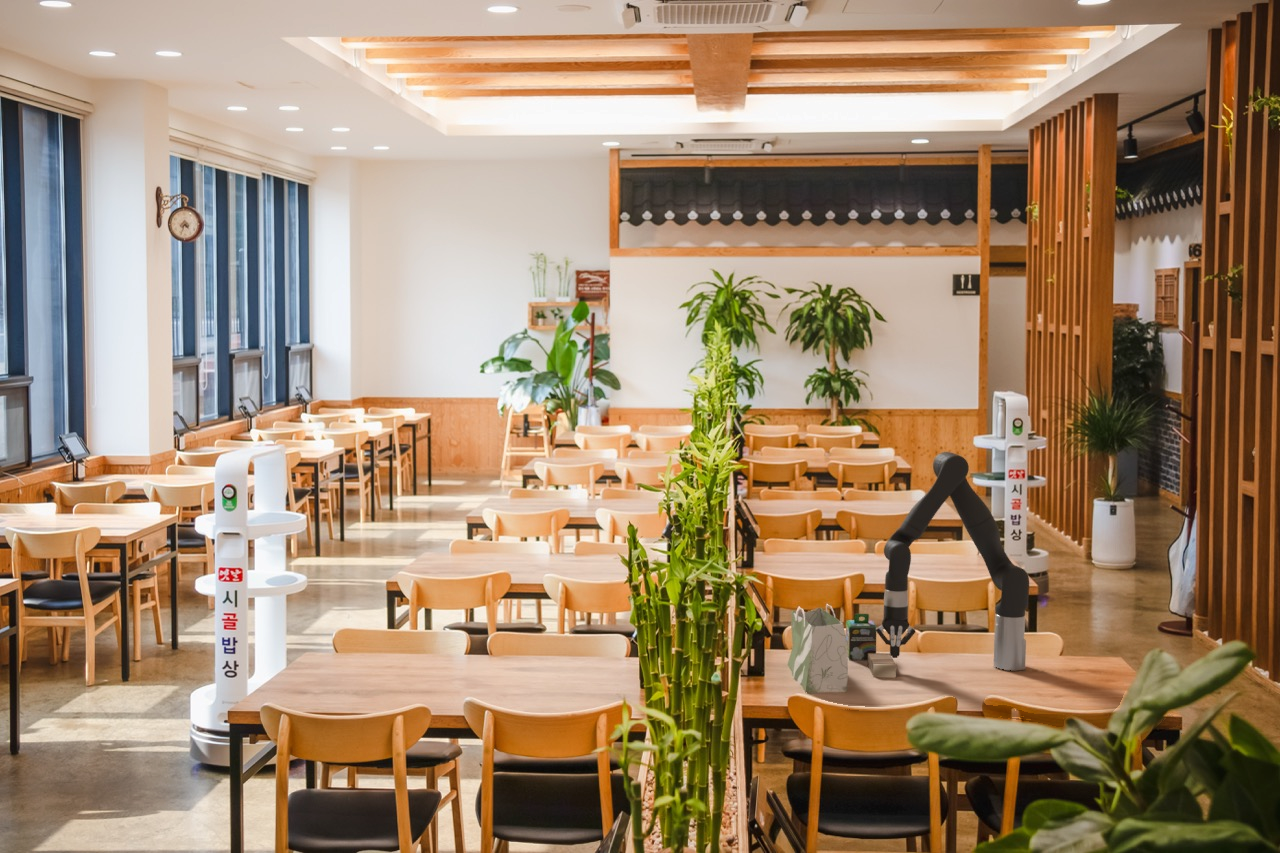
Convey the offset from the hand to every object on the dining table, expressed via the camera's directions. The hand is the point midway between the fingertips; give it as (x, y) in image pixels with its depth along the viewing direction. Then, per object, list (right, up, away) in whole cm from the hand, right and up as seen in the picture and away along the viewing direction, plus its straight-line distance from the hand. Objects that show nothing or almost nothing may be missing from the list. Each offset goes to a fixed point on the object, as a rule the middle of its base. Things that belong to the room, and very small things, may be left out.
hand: (894, 657), depth 413 cm
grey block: (-4, -3, -7) cm, 9 cm away
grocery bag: (-26, -5, -8) cm, 28 cm away
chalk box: (-8, -3, +18) cm, 20 cm away
